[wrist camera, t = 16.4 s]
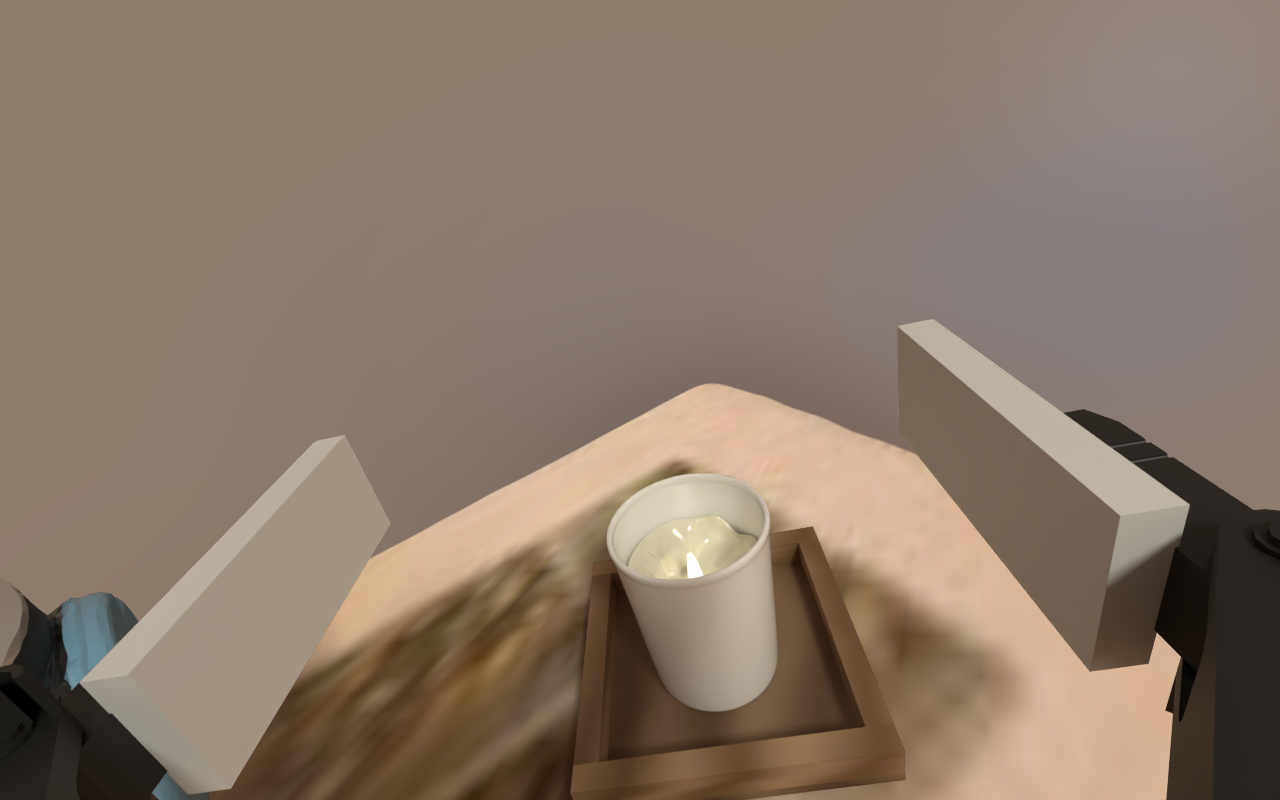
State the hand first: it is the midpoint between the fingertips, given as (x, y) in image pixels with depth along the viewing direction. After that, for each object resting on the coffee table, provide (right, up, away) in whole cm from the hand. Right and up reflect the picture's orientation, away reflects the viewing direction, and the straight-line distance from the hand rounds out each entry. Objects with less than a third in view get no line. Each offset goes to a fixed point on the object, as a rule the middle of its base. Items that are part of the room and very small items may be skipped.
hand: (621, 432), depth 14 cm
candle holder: (+6, -17, +26) cm, 32 cm away
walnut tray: (+6, -17, +26) cm, 32 cm away
